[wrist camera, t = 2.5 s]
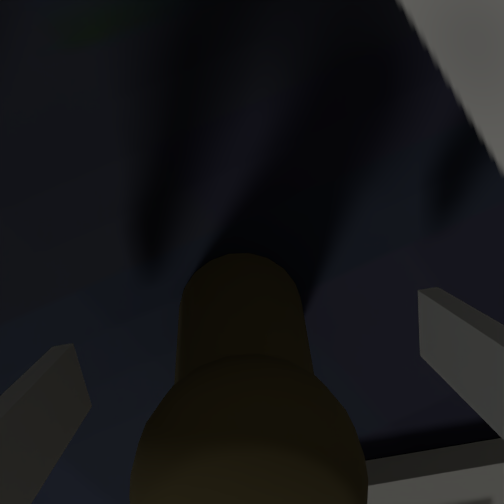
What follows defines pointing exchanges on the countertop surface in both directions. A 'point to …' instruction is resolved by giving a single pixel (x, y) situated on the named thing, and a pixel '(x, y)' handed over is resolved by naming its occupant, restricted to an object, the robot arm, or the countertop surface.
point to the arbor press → (440, 476)
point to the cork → (246, 402)
